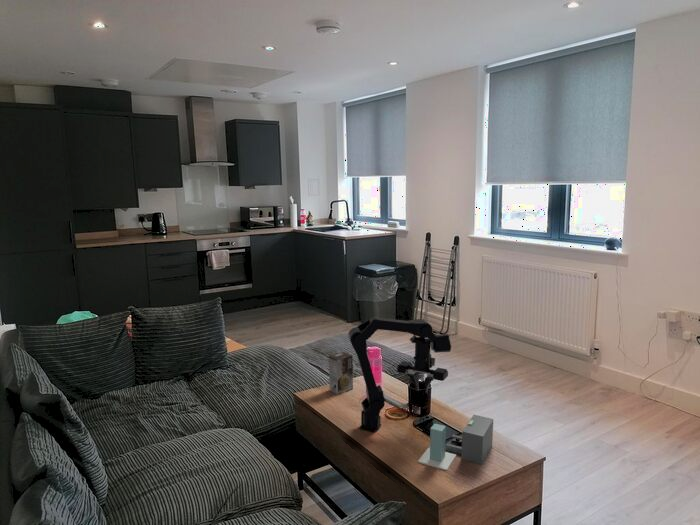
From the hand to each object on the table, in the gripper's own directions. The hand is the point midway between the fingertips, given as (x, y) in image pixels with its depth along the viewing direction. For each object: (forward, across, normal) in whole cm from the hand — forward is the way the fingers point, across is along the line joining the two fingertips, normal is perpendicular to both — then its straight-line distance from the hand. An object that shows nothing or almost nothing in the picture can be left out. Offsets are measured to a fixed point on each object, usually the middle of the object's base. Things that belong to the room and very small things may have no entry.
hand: (421, 391), depth 190 cm
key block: (+12, -14, +21) cm, 28 cm away
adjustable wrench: (+14, +19, -12) cm, 26 cm away
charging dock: (+13, -21, +10) cm, 27 cm away
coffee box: (+13, +44, -13) cm, 47 cm away
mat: (+13, -14, +21) cm, 28 cm away
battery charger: (+13, +8, -16) cm, 22 cm away
